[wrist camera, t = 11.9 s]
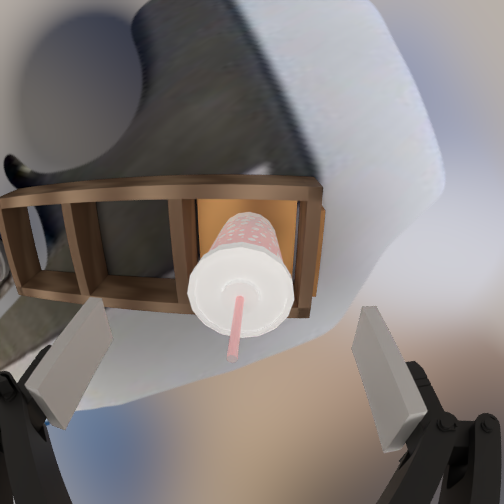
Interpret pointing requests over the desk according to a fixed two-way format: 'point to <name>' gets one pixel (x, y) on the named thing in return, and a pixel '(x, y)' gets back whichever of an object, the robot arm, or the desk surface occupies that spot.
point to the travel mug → (3, 262)
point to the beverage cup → (242, 282)
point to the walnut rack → (181, 228)
